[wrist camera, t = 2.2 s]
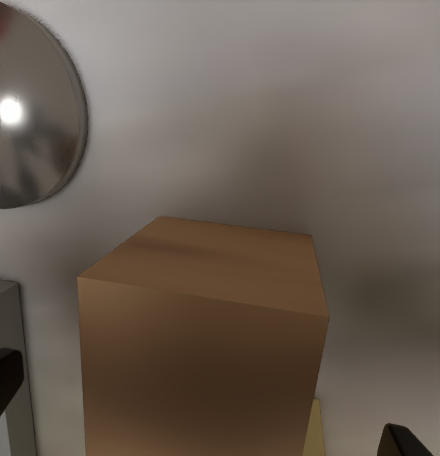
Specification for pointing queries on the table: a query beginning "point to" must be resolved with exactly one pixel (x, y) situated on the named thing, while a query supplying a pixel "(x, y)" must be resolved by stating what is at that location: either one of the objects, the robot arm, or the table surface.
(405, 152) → the table surface
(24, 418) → the grey metal square plate
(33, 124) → the jar lid
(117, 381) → the walnut cube
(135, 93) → the table surface
